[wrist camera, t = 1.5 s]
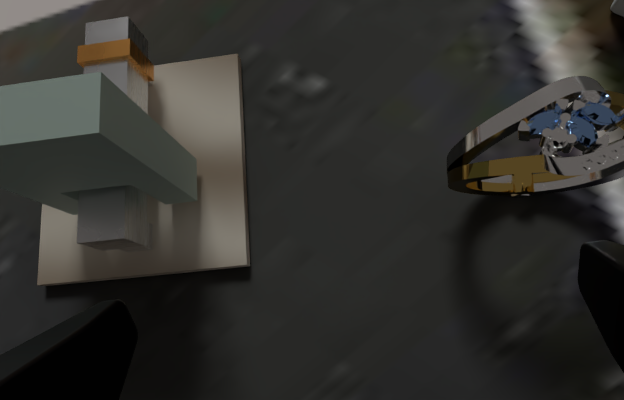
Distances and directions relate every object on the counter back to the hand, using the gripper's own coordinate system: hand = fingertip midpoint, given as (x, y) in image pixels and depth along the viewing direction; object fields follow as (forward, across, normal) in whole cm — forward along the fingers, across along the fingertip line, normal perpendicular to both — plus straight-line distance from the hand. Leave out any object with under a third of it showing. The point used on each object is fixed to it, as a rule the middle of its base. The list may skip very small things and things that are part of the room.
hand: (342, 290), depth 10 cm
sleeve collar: (+13, -10, -3) cm, 16 cm away
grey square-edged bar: (+14, -10, -2) cm, 18 cm away
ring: (+12, +7, -6) cm, 15 cm away
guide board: (+14, -10, -4) cm, 17 cm away
